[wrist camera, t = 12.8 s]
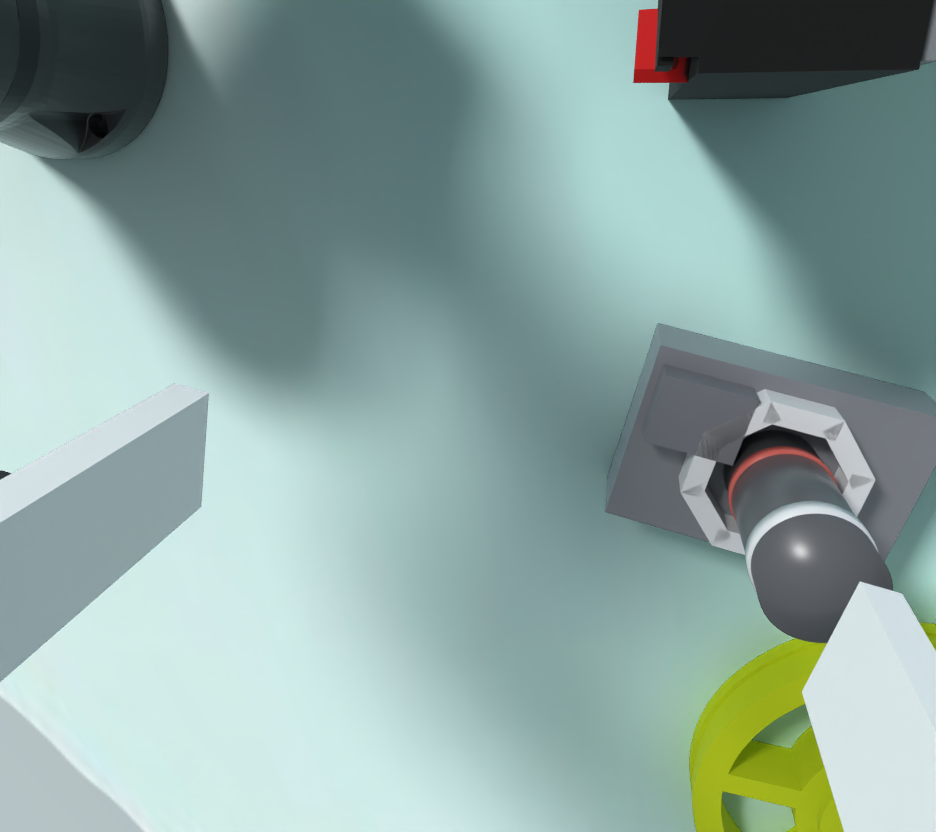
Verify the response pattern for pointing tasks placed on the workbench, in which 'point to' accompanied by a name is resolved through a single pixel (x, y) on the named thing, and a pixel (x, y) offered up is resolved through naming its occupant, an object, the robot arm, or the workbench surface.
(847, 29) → the electrical component
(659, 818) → the workbench surface
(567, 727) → the workbench surface
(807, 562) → the lens
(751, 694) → the pulley
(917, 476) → the plate with octagonal ring
